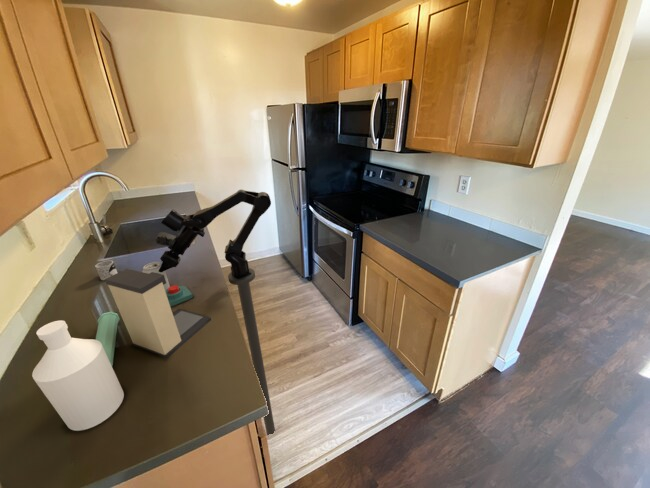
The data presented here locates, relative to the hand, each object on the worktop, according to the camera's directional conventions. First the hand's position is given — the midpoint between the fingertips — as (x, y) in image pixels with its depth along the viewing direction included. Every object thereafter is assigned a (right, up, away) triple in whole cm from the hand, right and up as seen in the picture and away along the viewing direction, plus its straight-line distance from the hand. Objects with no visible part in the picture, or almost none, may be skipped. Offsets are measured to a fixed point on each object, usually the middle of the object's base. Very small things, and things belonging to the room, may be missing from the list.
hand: (163, 266), depth 111 cm
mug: (-35, -6, +17) cm, 39 cm away
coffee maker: (+15, -20, -20) cm, 32 cm away
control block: (+6, -13, -2) cm, 14 cm away
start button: (+6, -10, -3) cm, 12 cm away
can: (-3, -11, +4) cm, 12 cm away
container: (-2, -24, -25) cm, 35 cm away
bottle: (+9, -31, -43) cm, 54 cm away
